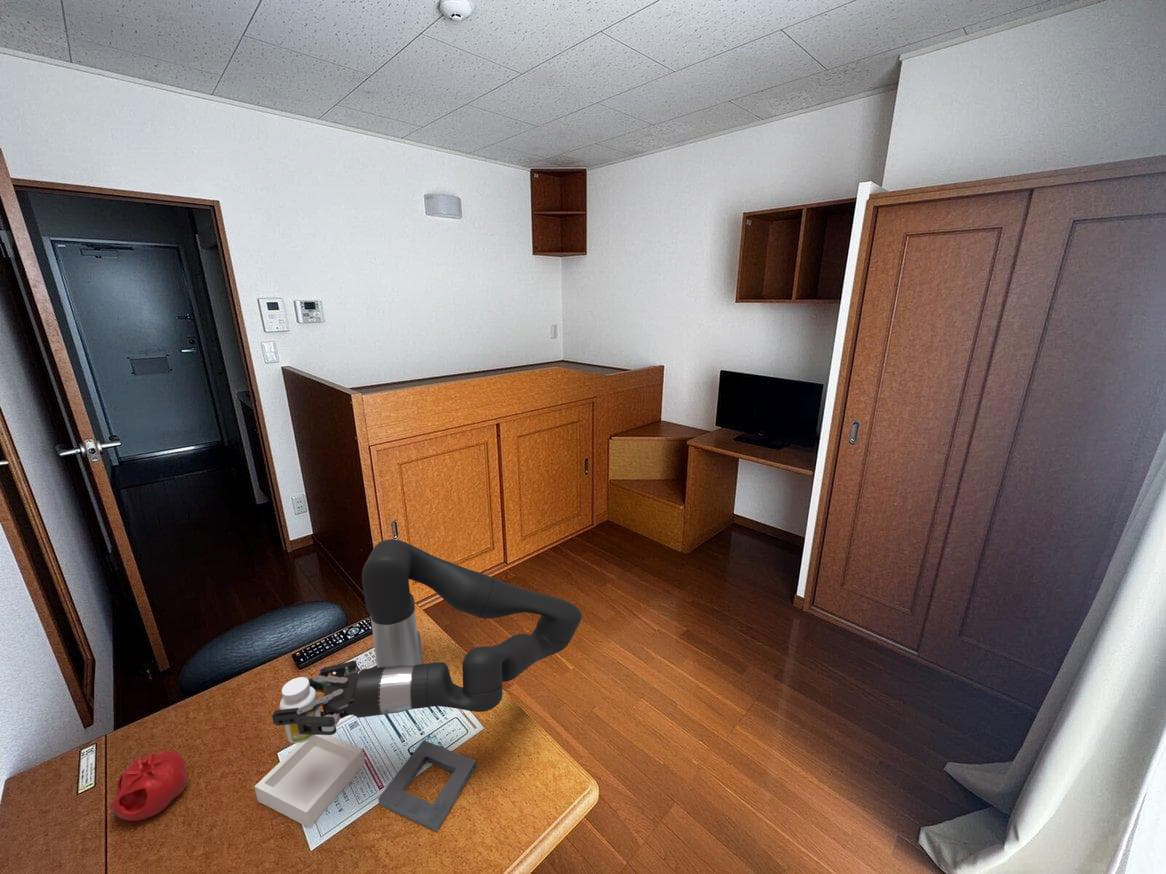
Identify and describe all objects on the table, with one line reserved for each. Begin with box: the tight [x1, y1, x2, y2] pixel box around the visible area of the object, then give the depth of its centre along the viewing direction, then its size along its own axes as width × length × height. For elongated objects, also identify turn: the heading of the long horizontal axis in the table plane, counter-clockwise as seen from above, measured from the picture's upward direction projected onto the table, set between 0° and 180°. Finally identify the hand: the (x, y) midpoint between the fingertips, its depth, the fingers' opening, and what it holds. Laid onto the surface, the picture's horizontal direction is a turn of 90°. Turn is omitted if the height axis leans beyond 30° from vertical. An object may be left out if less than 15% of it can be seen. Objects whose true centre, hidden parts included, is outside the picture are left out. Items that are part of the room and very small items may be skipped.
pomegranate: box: [109, 747, 188, 822], centre depth 80 cm, size 10×10×9 cm
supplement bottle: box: [279, 676, 318, 744], centre depth 80 cm, size 5×5×10 cm
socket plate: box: [377, 739, 477, 832], centre depth 84 cm, size 12×12×2 cm
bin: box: [254, 735, 366, 829], centre depth 84 cm, size 12×12×4 cm
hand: (282, 702), depth 79 cm, fingers closed on supplement bottle, 5 cm apart
